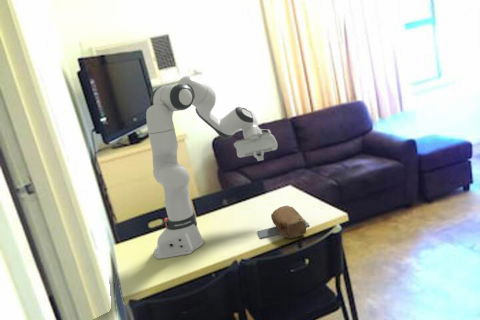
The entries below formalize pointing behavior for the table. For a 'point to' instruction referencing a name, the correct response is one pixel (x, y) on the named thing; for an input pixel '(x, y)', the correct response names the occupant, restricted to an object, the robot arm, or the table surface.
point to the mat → (271, 231)
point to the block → (289, 222)
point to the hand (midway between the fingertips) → (260, 159)
